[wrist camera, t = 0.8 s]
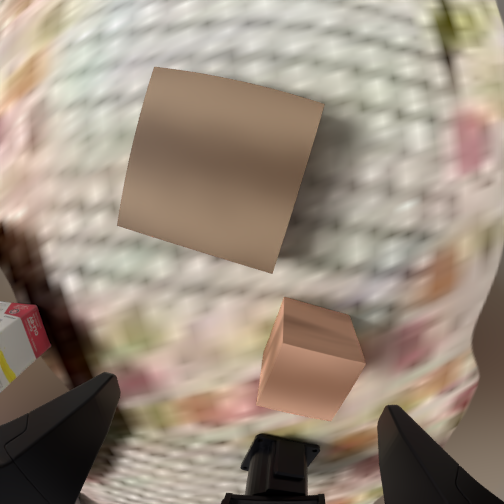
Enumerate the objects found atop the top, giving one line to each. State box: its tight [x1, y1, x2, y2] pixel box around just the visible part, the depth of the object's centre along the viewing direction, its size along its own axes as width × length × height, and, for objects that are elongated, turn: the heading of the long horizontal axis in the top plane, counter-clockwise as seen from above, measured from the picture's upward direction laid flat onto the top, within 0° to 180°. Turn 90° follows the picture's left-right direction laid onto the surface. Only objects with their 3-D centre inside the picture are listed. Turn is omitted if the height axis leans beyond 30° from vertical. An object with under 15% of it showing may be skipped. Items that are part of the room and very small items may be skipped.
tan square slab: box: [117, 67, 325, 274], centre depth 18 cm, size 10×10×3 cm
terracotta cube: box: [256, 297, 366, 421], centre depth 20 cm, size 5×5×6 cm
